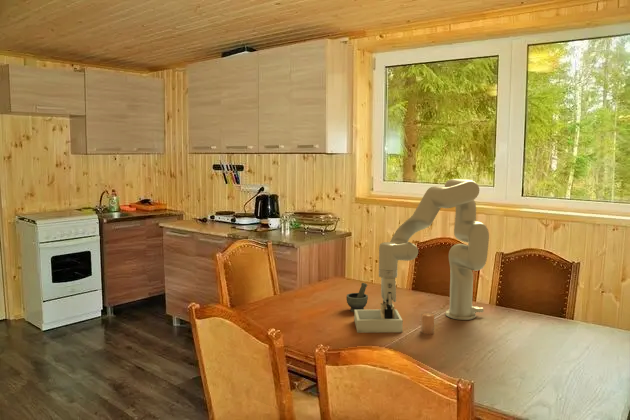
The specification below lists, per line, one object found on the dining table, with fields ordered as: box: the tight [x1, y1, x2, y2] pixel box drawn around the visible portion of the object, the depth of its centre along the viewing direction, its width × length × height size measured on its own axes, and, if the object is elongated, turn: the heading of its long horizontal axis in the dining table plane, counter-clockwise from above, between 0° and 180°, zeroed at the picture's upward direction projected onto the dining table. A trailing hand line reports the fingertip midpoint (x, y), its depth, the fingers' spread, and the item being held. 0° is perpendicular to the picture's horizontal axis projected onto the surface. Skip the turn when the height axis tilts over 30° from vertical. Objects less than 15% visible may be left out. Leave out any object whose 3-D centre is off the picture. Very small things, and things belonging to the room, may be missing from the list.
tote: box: [353, 308, 404, 334], centre depth 213 cm, size 18×14×5 cm
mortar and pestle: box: [346, 282, 369, 313], centre depth 234 cm, size 11×9×12 cm
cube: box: [380, 302, 395, 319], centre depth 212 cm, size 5×5×5 cm
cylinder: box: [420, 312, 435, 335], centre depth 206 cm, size 5×5×7 cm
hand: (387, 315), depth 212 cm, fingers closed on cube, 4 cm apart
